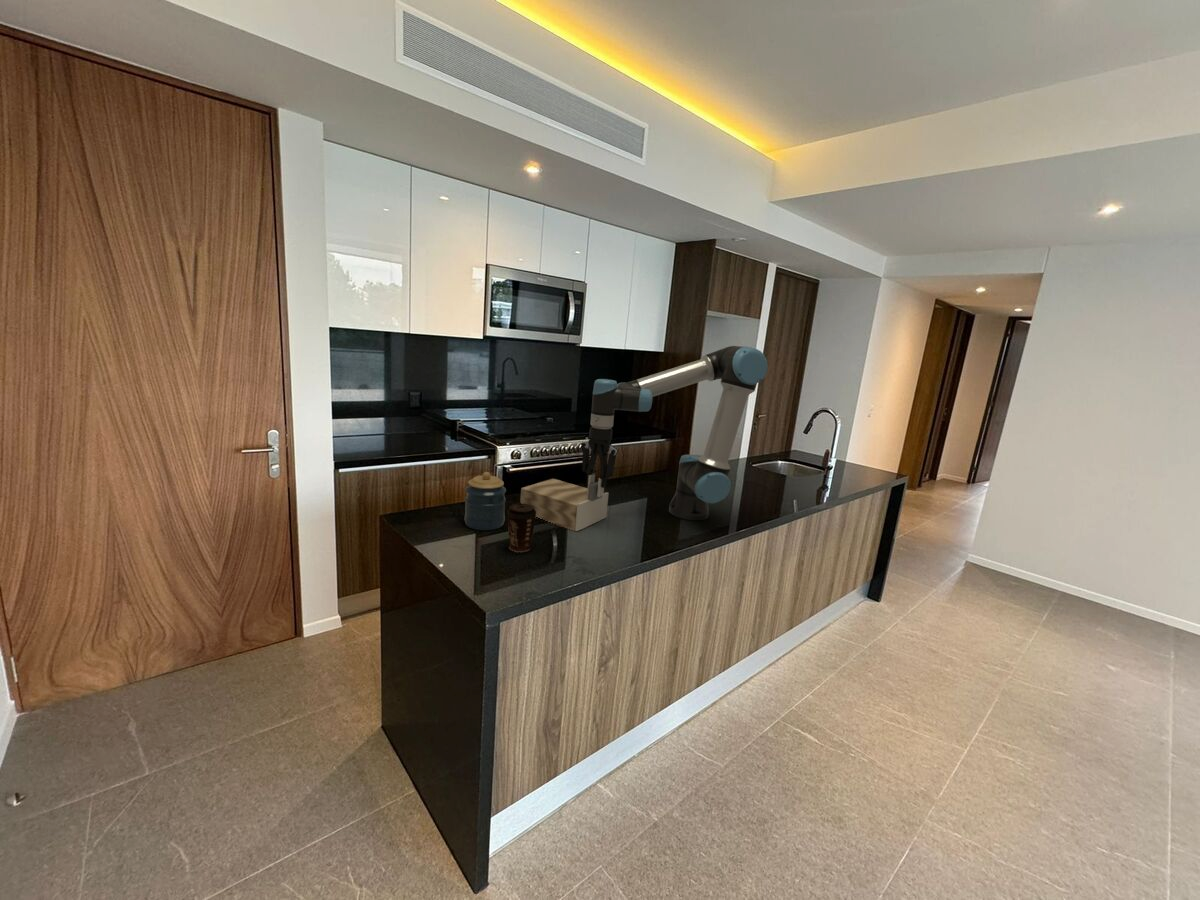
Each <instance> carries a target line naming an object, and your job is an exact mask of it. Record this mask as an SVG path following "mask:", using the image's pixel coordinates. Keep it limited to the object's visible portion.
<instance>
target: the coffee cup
mask: <svg viewBox="0 0 1200 900" xmlns="http://www.w3.org/2000/svg"><path fill="white" fill-rule="evenodd" d="M506 516H507V522H508V523H507V529H508V530H507V531H508V537H509V541H510V542H509V543H510V544H509V546H508V549H509V550H510V551H512V552H513V551H514V552H513V553H519V552H520V553H526V552H528V551H530V550H531V549H532V541H533V537H534V532H535V523H536V521H535V520H536V519H537V518H536V511H535V509H534V506H532V505H529V504H525V503H523V504H522V503H520V502H519V503H517V502H516V503H514V504H511V505H510V506H509V508H508V509H507V511H506Z"/></svg>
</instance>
